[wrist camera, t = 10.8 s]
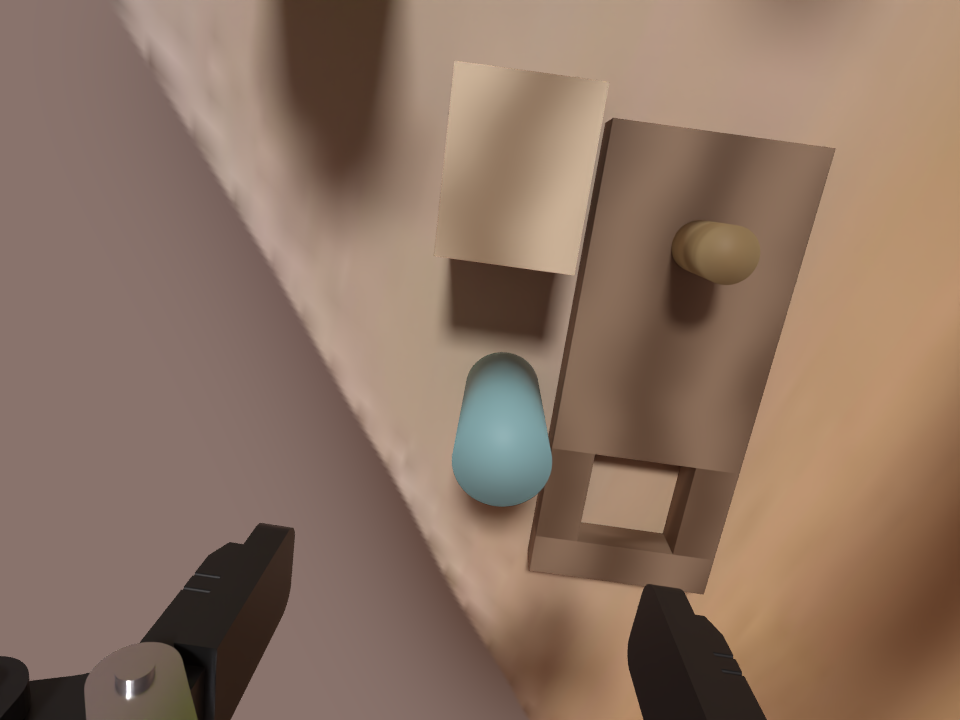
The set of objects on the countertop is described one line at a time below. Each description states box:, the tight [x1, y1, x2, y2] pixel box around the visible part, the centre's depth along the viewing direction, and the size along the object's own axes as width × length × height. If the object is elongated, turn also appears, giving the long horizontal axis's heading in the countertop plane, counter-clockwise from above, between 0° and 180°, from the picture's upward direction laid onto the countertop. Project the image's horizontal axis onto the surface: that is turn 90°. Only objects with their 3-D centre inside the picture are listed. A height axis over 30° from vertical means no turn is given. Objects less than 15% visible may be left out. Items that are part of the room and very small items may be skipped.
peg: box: [452, 352, 552, 507], centre depth 27 cm, size 4×4×9 cm
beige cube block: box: [434, 61, 609, 275], centre depth 25 cm, size 6×7×7 cm
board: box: [528, 118, 835, 594], centre depth 28 cm, size 10×24×6 cm, turn 173°
